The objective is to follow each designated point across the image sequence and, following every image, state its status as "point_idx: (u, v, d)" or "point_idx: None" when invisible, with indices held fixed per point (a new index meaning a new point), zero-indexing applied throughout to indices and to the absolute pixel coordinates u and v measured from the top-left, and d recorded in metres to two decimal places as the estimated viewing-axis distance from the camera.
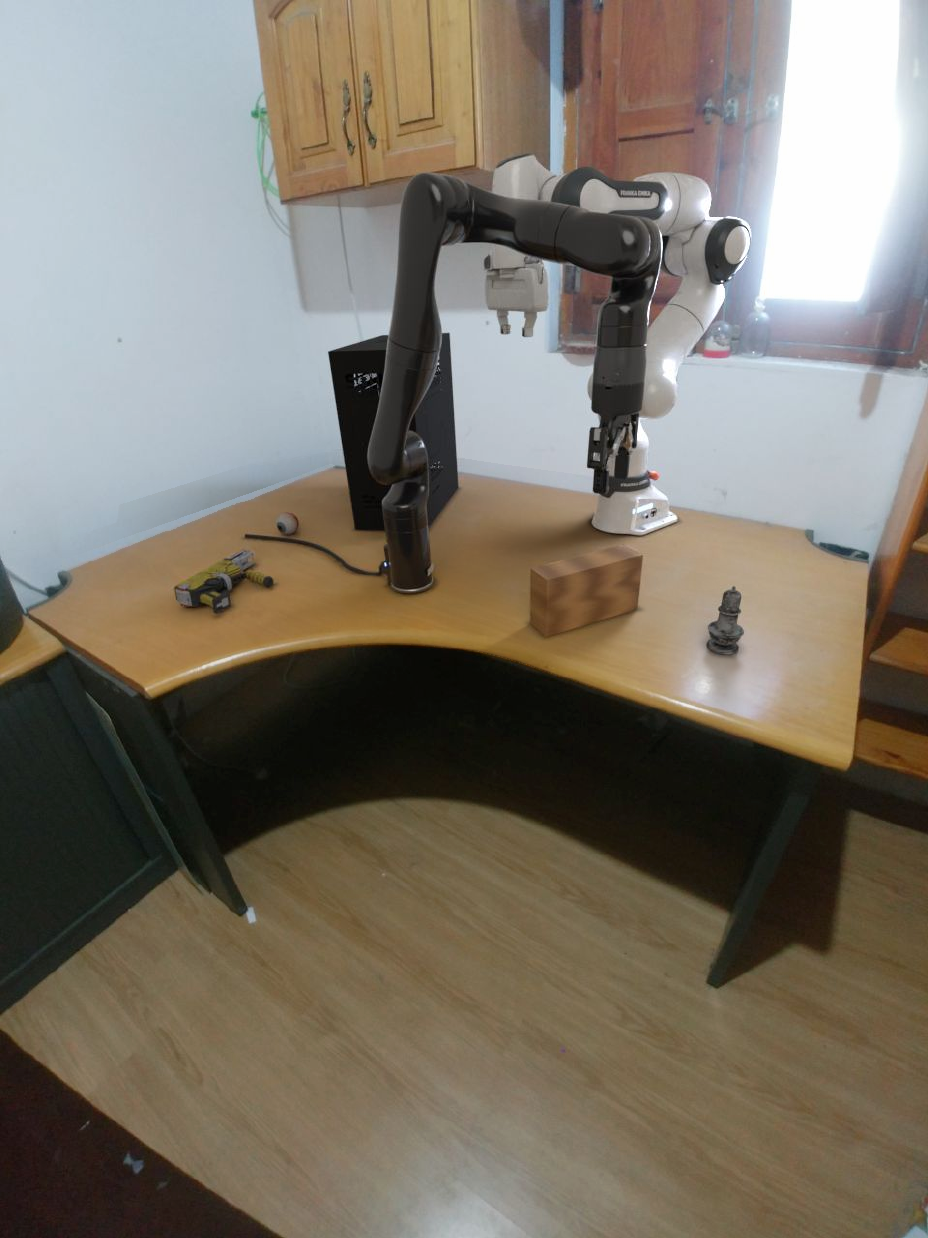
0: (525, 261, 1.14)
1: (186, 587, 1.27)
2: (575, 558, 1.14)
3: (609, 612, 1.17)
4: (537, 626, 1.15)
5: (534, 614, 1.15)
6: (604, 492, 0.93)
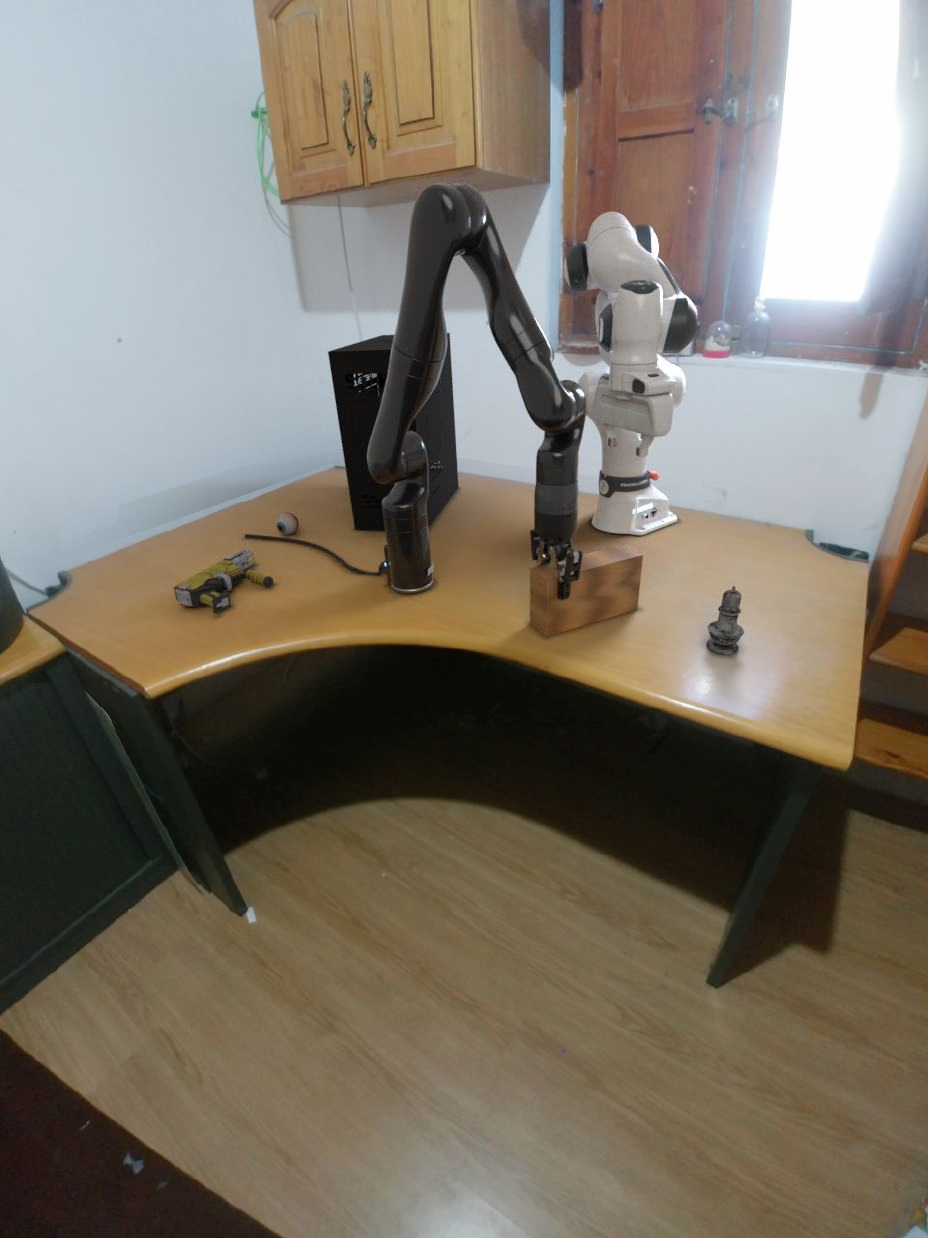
0: None
1: (186, 587, 1.27)
2: None
3: (609, 612, 1.17)
4: (537, 626, 1.15)
5: (534, 614, 1.15)
6: None
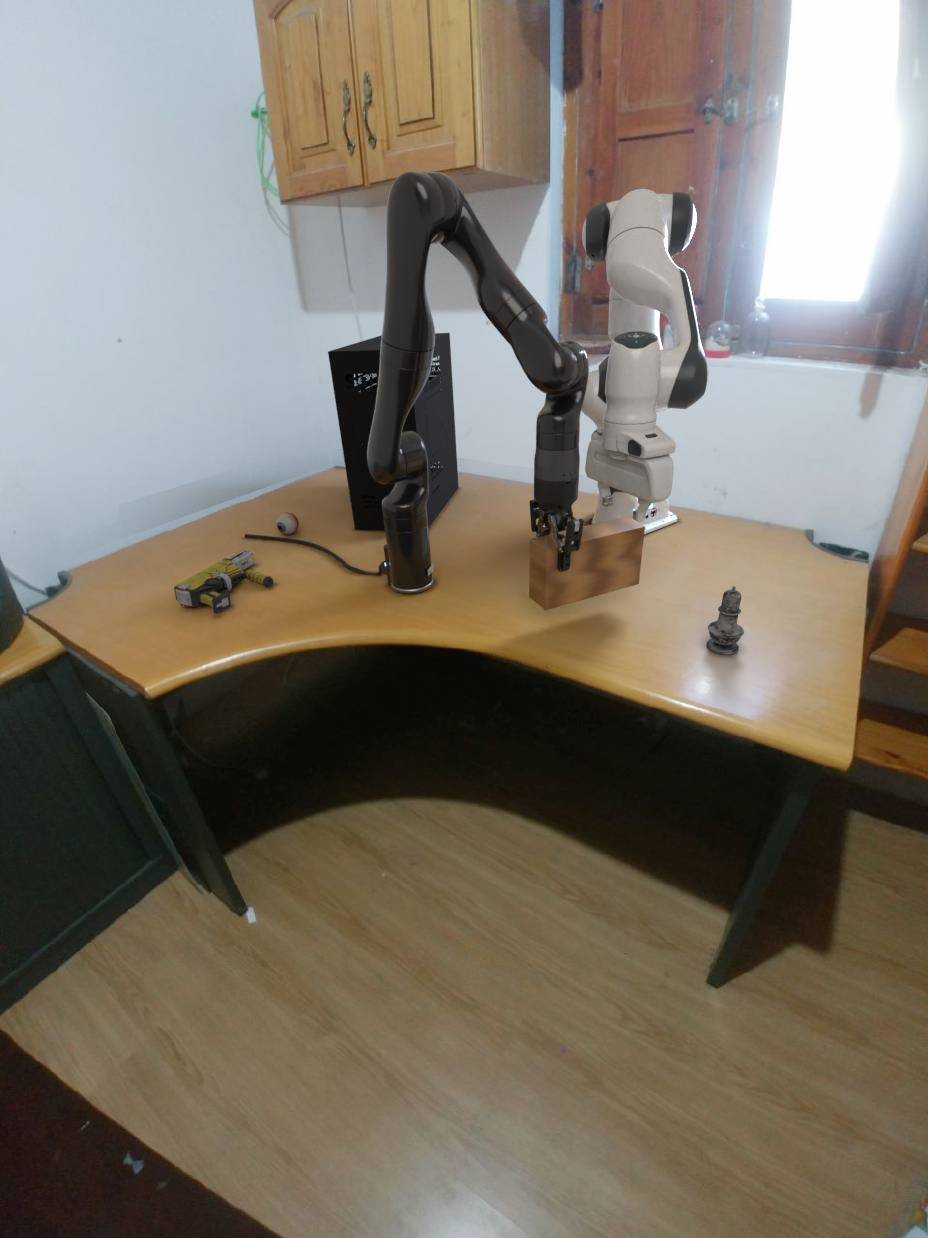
0: None
1: (186, 587, 1.27)
2: None
3: (609, 586, 1.14)
4: (536, 599, 1.12)
5: (533, 587, 1.12)
6: (568, 568, 1.07)
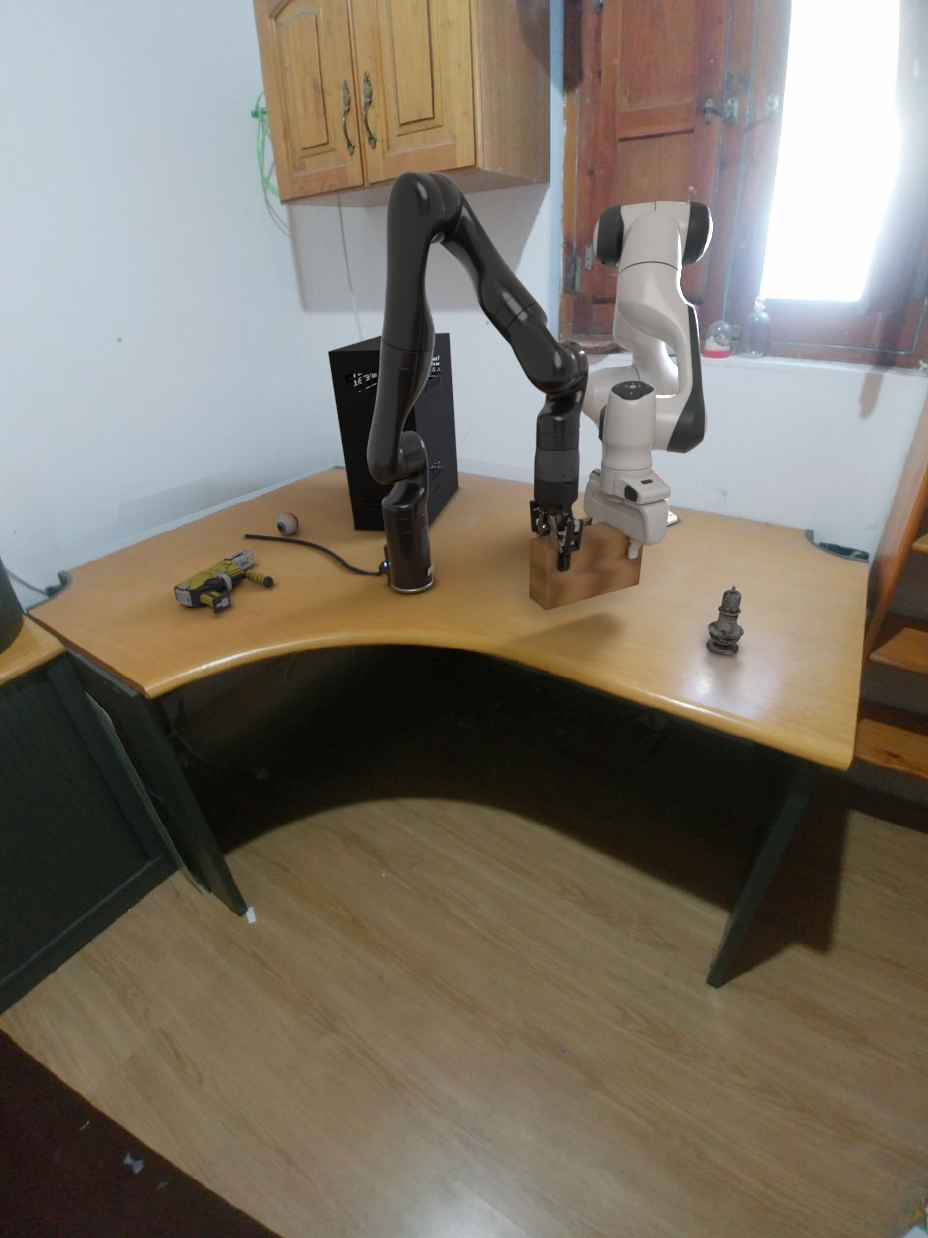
0: None
1: (186, 587, 1.27)
2: None
3: (610, 586, 1.14)
4: (536, 600, 1.12)
5: (533, 587, 1.12)
6: (568, 568, 1.07)
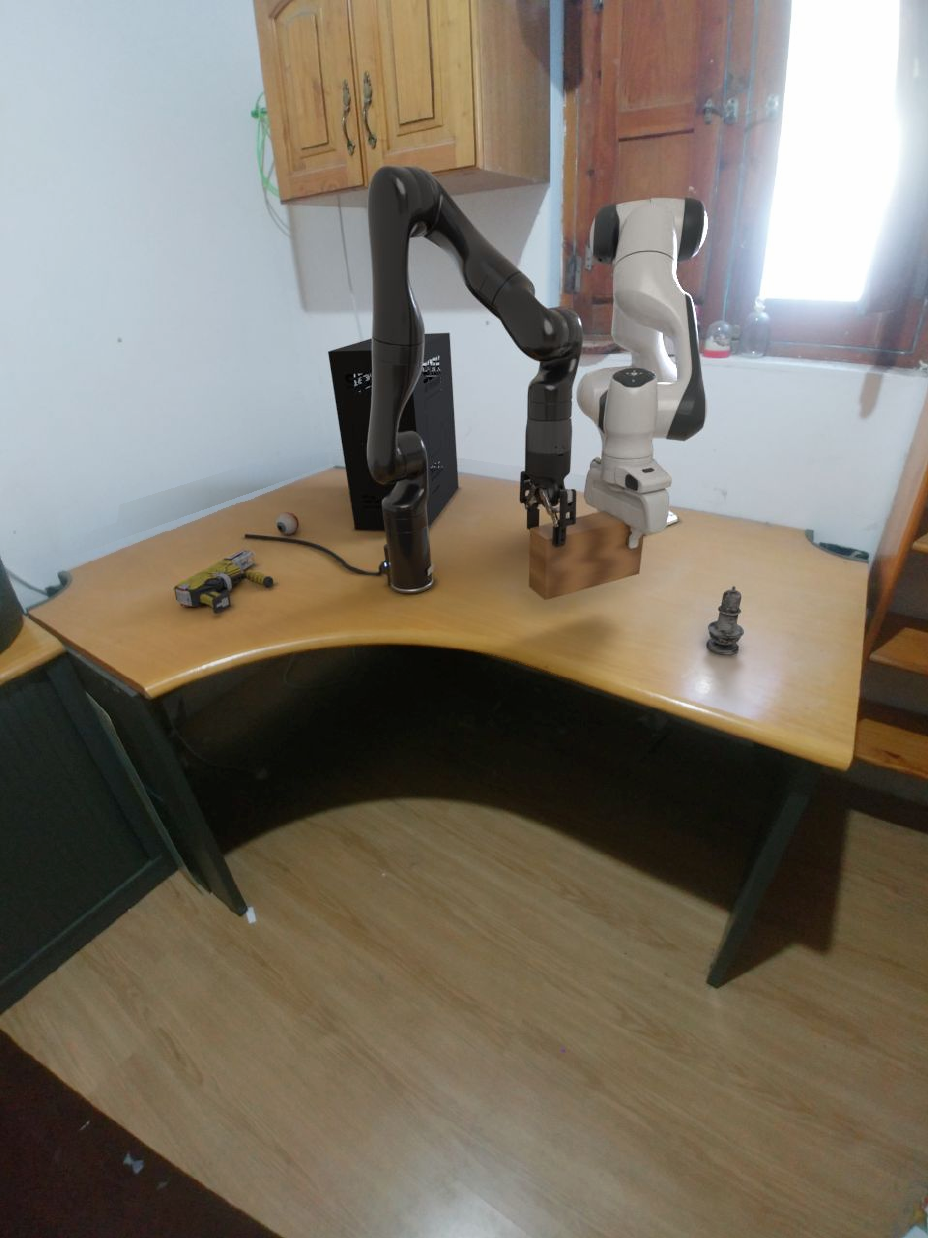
0: None
1: (186, 587, 1.27)
2: (576, 519, 1.10)
3: (610, 576, 1.14)
4: (536, 589, 1.11)
5: (533, 577, 1.11)
6: (564, 543, 1.03)
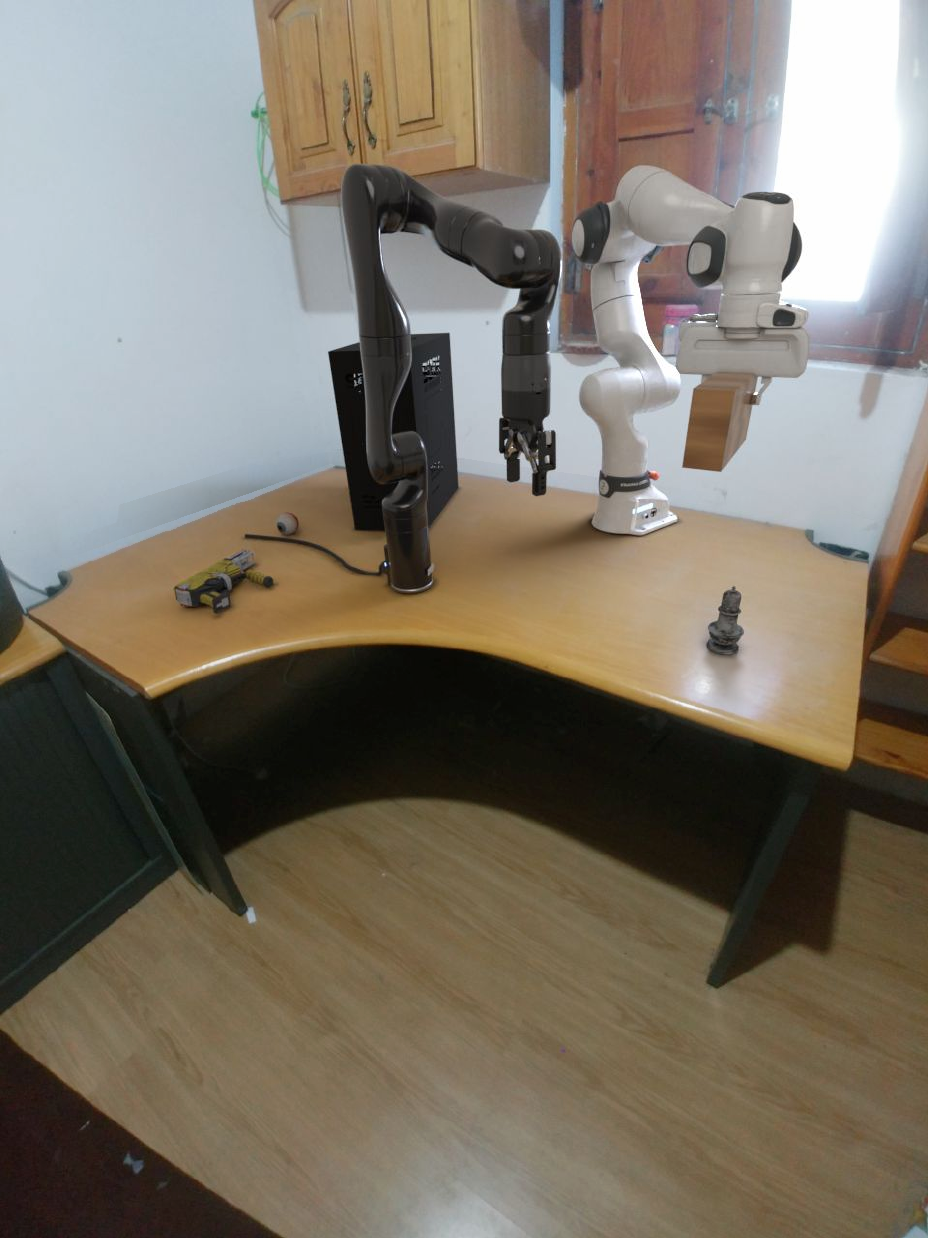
0: None
1: (186, 587, 1.27)
2: (712, 378, 0.96)
3: (739, 441, 1.03)
4: (701, 465, 0.94)
5: (695, 450, 0.93)
6: (544, 492, 0.97)
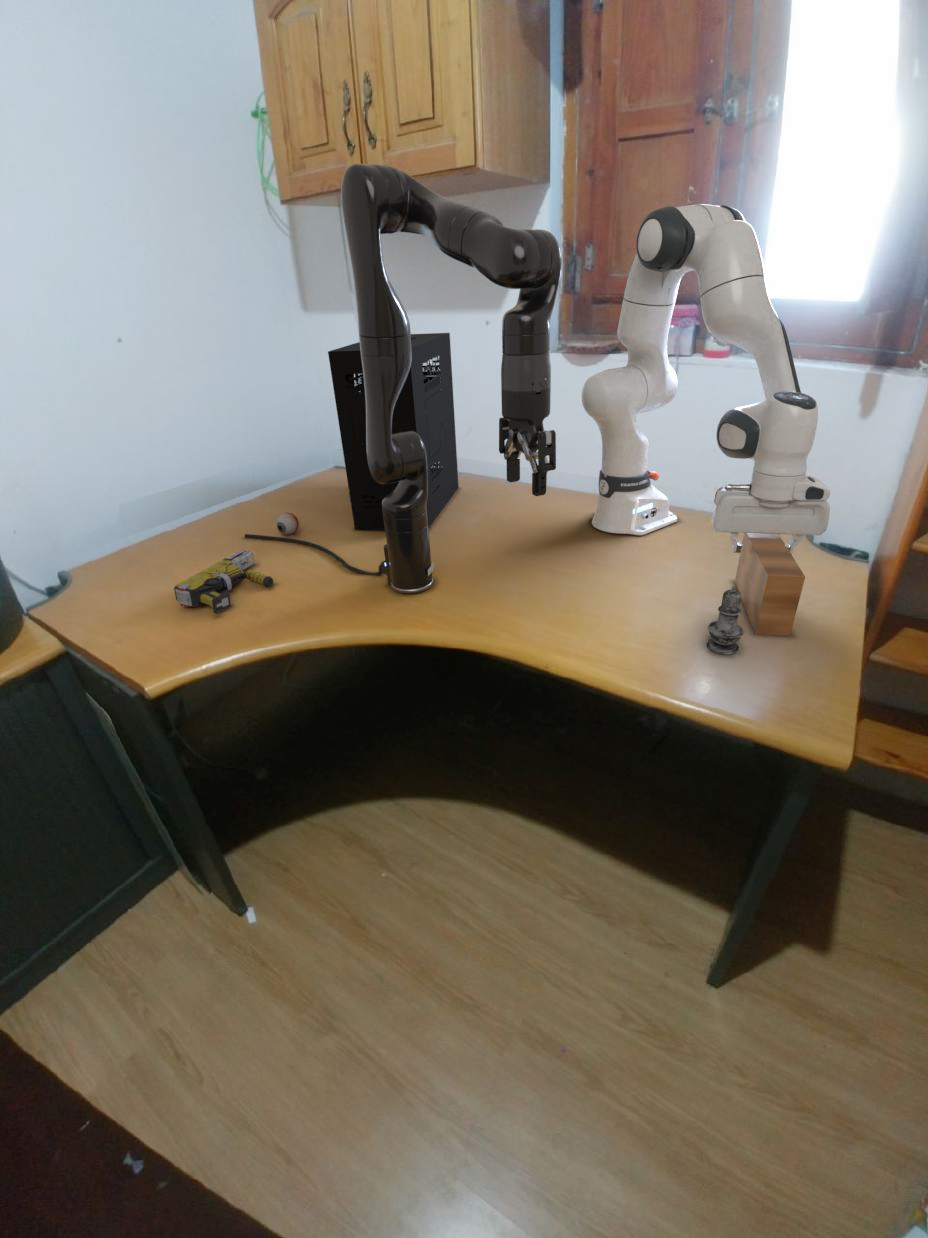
0: None
1: (186, 587, 1.27)
2: (761, 553, 1.12)
3: None
4: (772, 631, 1.09)
5: (767, 621, 1.08)
6: (544, 492, 0.97)
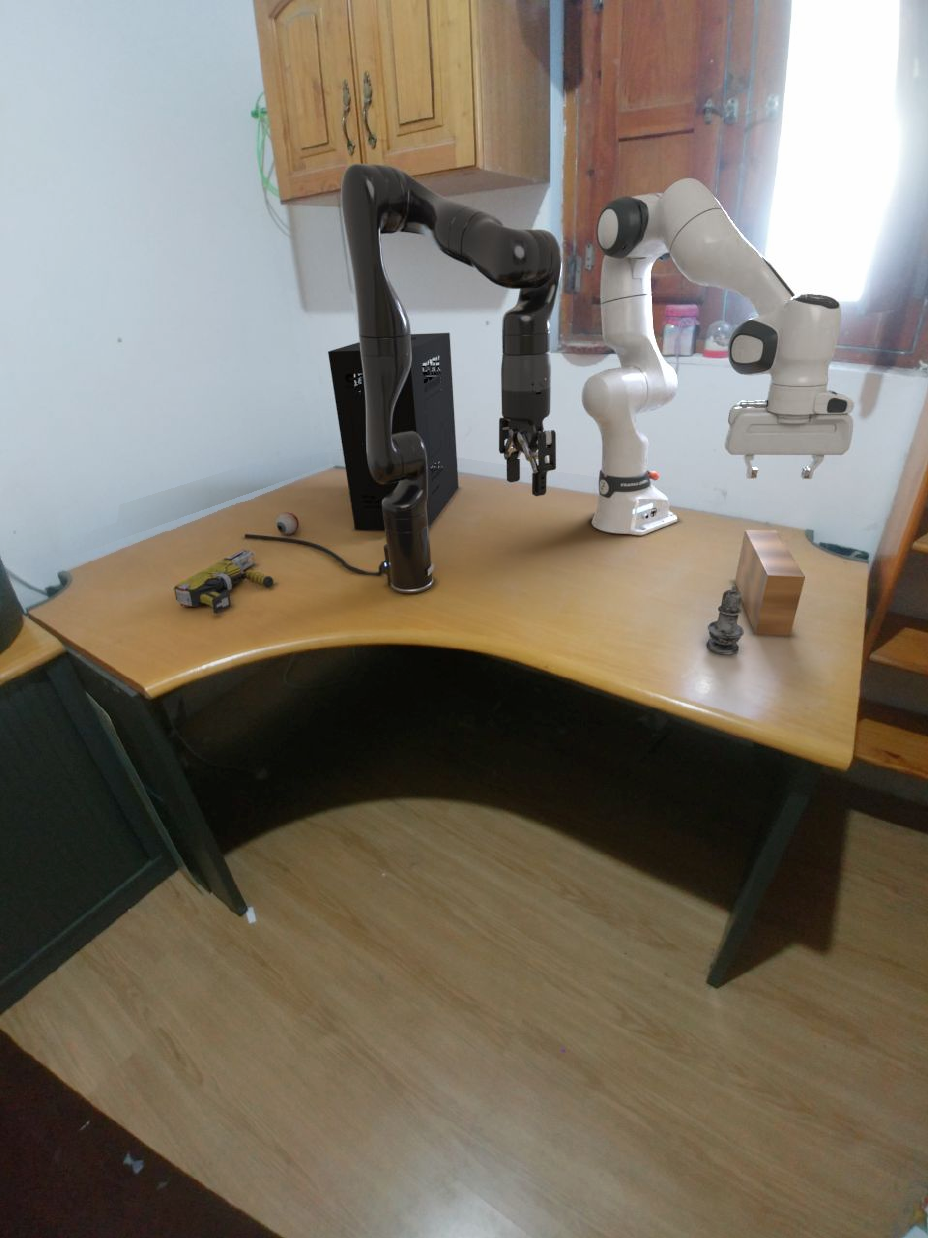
0: None
1: (186, 587, 1.27)
2: (761, 553, 1.12)
3: None
4: (772, 631, 1.09)
5: (767, 621, 1.08)
6: (544, 492, 0.97)
